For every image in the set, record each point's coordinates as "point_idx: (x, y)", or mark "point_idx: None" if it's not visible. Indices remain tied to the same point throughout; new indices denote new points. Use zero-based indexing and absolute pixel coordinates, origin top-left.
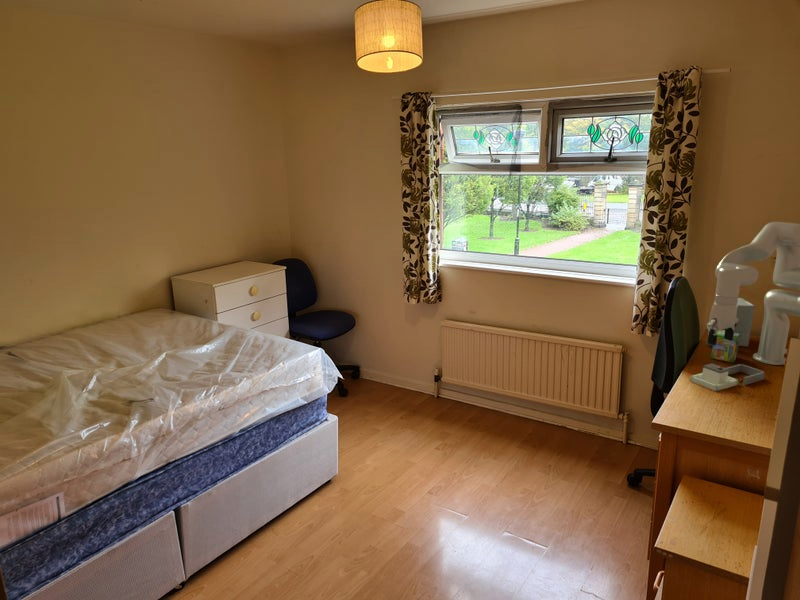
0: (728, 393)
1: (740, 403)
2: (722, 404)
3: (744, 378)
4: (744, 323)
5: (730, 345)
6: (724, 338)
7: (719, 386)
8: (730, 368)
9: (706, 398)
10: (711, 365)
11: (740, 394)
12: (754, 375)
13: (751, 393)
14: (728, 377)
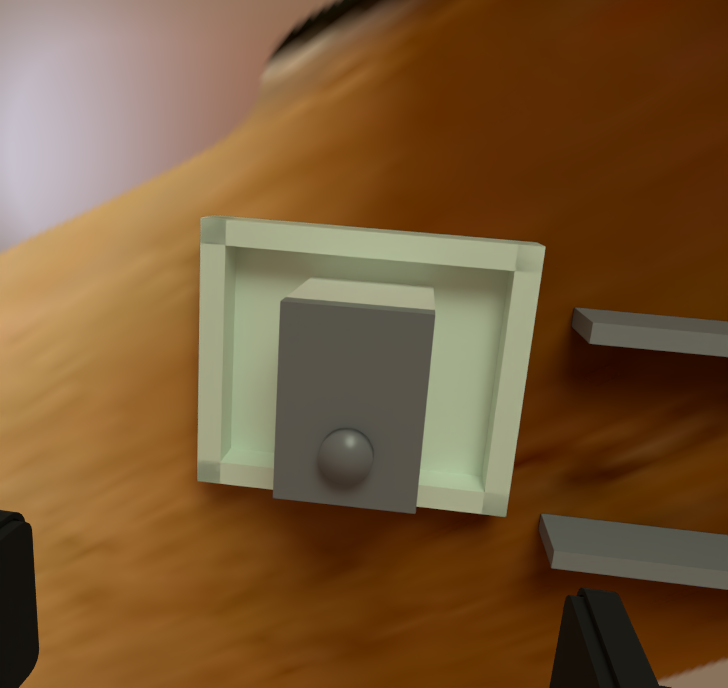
0: (260, 533)
1: (173, 653)
2: (48, 595)
3: (552, 552)
4: None
5: None
6: (565, 603)
7: (238, 481)
8: (720, 354)
9: (32, 487)
10: (363, 349)
11: (322, 589)
12: (691, 583)
13: (413, 625)
14: (491, 436)
